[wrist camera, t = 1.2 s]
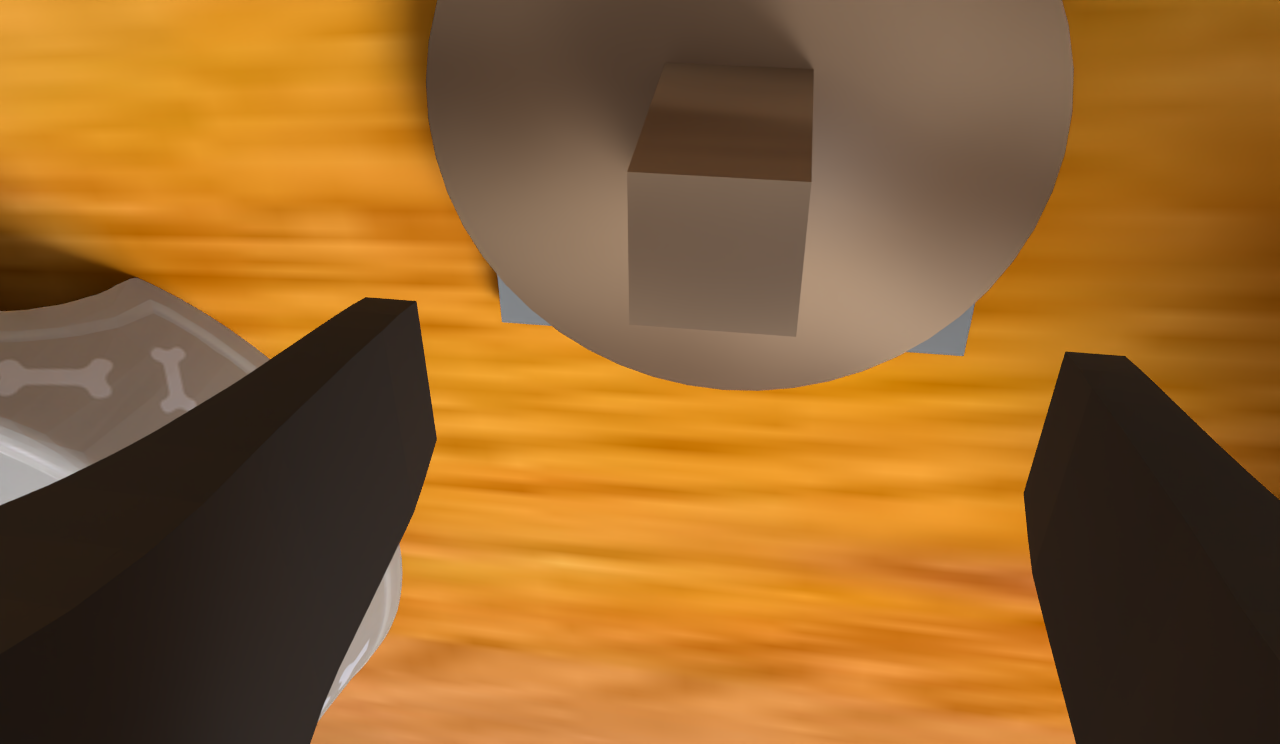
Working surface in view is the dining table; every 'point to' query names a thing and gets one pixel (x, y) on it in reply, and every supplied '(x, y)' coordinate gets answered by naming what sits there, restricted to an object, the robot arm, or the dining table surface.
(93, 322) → the dog bowl
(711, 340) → the lid
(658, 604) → the dining table surface
